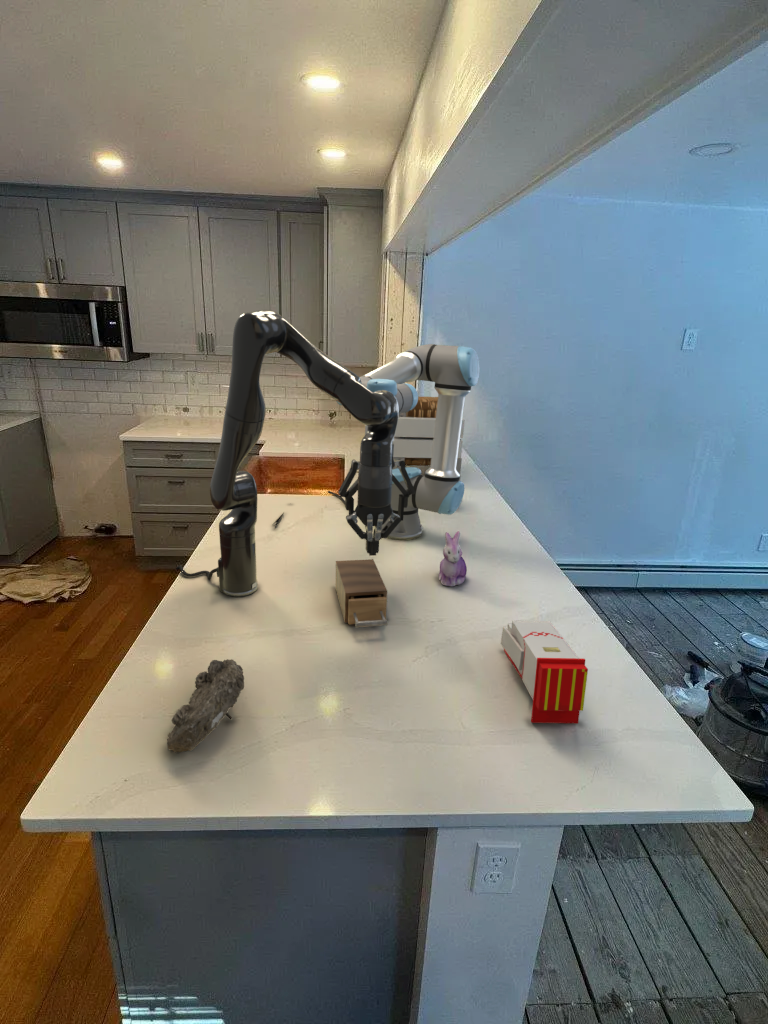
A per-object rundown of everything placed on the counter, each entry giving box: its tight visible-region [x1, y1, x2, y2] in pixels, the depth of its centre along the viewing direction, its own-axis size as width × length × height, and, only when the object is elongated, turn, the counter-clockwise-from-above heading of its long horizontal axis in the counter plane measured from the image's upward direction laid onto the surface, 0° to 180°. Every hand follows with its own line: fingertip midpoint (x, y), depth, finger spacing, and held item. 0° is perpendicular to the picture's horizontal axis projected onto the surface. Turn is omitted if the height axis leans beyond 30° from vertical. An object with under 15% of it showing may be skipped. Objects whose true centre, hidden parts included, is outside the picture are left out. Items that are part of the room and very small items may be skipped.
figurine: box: [438, 530, 468, 587], centre depth 165 cm, size 9×10×15 cm
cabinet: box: [334, 558, 388, 624], centre depth 151 cm, size 19×11×8 cm, turn 12°
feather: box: [273, 503, 291, 529], centre depth 211 cm, size 2×28×2 cm
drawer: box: [347, 594, 388, 628], centre depth 145 cm, size 23×9×6 cm, turn 12°
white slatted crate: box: [392, 396, 465, 481], centre depth 268 cm, size 34×33×41 cm
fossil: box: [166, 658, 245, 754], centre depth 106 cm, size 22×10×15 cm
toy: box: [500, 620, 589, 724], centre depth 121 cm, size 12×13×30 cm
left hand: (372, 554), depth 131 cm, fingers closed
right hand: (375, 520), depth 151 cm, fingers open, 13 cm apart
